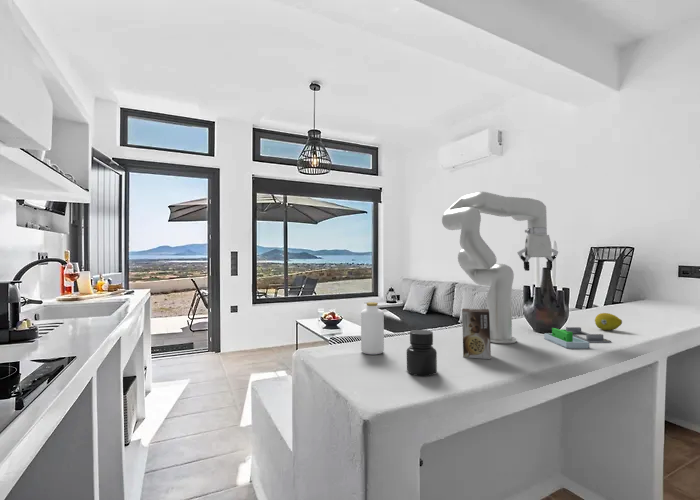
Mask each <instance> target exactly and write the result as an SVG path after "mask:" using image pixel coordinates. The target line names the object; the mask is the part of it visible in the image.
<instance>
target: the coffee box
mask: <svg viewBox="0 0 700 500" xmlns="http://www.w3.org/2000/svg"><path fill="white" fill-rule="evenodd" d="M461 323H462V357H463V358H466V359H467V358H468V359H483V360H491V359H492V355H491V354H492V351H491V350H492V349H491V342H490V315H489V309H487V308H462V310H461Z"/></svg>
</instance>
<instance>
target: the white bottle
mask: <svg viewBox="0 0 700 500" xmlns="http://www.w3.org/2000/svg"><path fill="white" fill-rule="evenodd" d="M365 307H366V308H364V309H362V310H361V312H360V349H361V350H360V351H361V353H363V354H365V355H374V356H376V355H380V354H382V353H383V352H384V351H385V338H384V337H385V333H384V332H385V324H384V322H385V321H384V320H385V319H384V318H385V317H384V316H385V314H384V311H383V310H382V309H380V308H378V307H379V305H378V302H375V301H374V302H371V301H369V302H366V305H365Z"/></svg>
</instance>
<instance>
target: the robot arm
mask: <svg viewBox="0 0 700 500" xmlns="http://www.w3.org/2000/svg"><path fill="white" fill-rule="evenodd" d="M481 214H486V215H490V216H496V217H505V218H506V217H509V218H512V219H513V220H515V221H519V222H523V221H526V222H527V228H526V229H524V233H525V234H526V233H527V235H526V236H525V241H524V248H523V249H521V250H519V251H517V255H518V257H519V258H520V260H521V261H523V270H524V271H525V272H526V271H530V261H529V260H530V259H531V258H545V259H546V260H547V261H546V262H545V263H546V269H547V268H550V270H551V271H553V262H554V260H555V259H556V258H557V256H558V254H559V251H558V250H556V249H553V248H552V243H551V237H550V234H548V232H547V229H548V227H547V226H548V222H547V206H546V204H545V203H544V202H543V201H541V200H539V199H534V198H529V197H517V196H504V195H500V194H496V193H493V192H487V191H477V192H474V193H468V194H465V195H463V196H461V197H460V198H459V199H458V200H456V201H455V202H454V203H453V204H452V205H451V206H450V207H449V208H448V209H446V210H445V211H444V213H443V214H442V216H441V224H442V225H443V227H444V228H445V229H447V230H449V231H455V230H456V231H457V230H460V234H459V235H460V236H459V244H460V248H461V249H460V250H459V251H458V254H457V262H458V264H459V266H460V268H461V269H462V270H463V271H464V272H465V274H466V275H467V276H468V277H469V279H471V280H472V282H474V283H475V284H477V285H479V286H485V287H487V286H488V287H490V288H489V289H488V291H487V293H486V297H485V298H486V309H489V315H490V343H492V344H503V345H504V344H505V345H508V344H514V343H517V338H516V337H515V336H513V321H512V319H513V315H512V311H513V310H512V289H513V283H514V276H515V273H514V271H513V268H512V267H511V266H510V265H507V264H505V263H497V256H496V254H495V252H494V251H493V250H492V249H491V247H490V246H489V245H488V243H486V241H485V240H484V239H483V237H482V235H481V233H480V229H481V228H480V227H481V221H482V218H481V217H482V215H481ZM555 256H556V257H555ZM550 270H549V271H550Z"/></svg>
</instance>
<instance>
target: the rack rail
mask: <svg viewBox="0 0 700 500" xmlns="http://www.w3.org/2000/svg"><path fill="white" fill-rule="evenodd" d="M565 330H566V331H567V332H573V337H576V338H579V339H582V340H584V341H587V342H589V344H590V343H595V344H596V343H597V344H599V343H601V344H602V343H603V344H604V343H609V342H611V343H612V340H611V339H610V340H609V339H607V338H604V334H602V333H590V332H589V333H588V332H584V331H582V327H579V326H576V327H575V326H572V327H571V326H569V327H568V326H567V327H565ZM576 334H578V335H576ZM579 334H580V335H581V334H582V335H585V336H586V338H585V337H582V336H579Z"/></svg>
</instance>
